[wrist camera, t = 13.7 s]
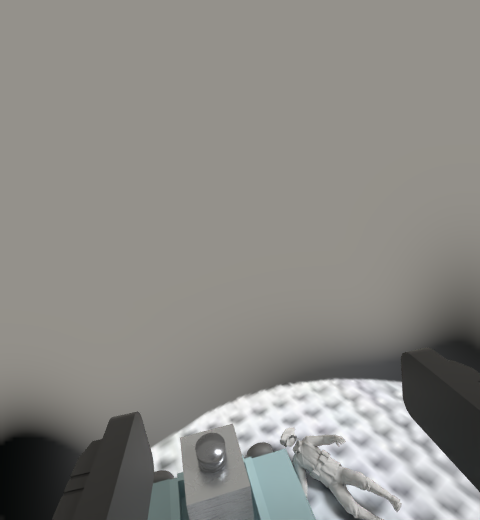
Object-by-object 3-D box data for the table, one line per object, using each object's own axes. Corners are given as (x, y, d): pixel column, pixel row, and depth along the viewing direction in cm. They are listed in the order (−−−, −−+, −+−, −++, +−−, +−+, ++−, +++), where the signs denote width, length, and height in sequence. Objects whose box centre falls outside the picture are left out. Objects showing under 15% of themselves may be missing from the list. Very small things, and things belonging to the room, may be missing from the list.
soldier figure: (370, 574, 28) (255, 474, 33) (368, 549, 33) (266, 464, 38) (411, 488, 29) (294, 405, 35) (404, 475, 34) (300, 403, 39)
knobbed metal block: (240, 491, 33) (231, 410, 30) (258, 559, 28) (248, 470, 24) (193, 506, 32) (177, 424, 29) (201, 580, 27) (183, 490, 23)
